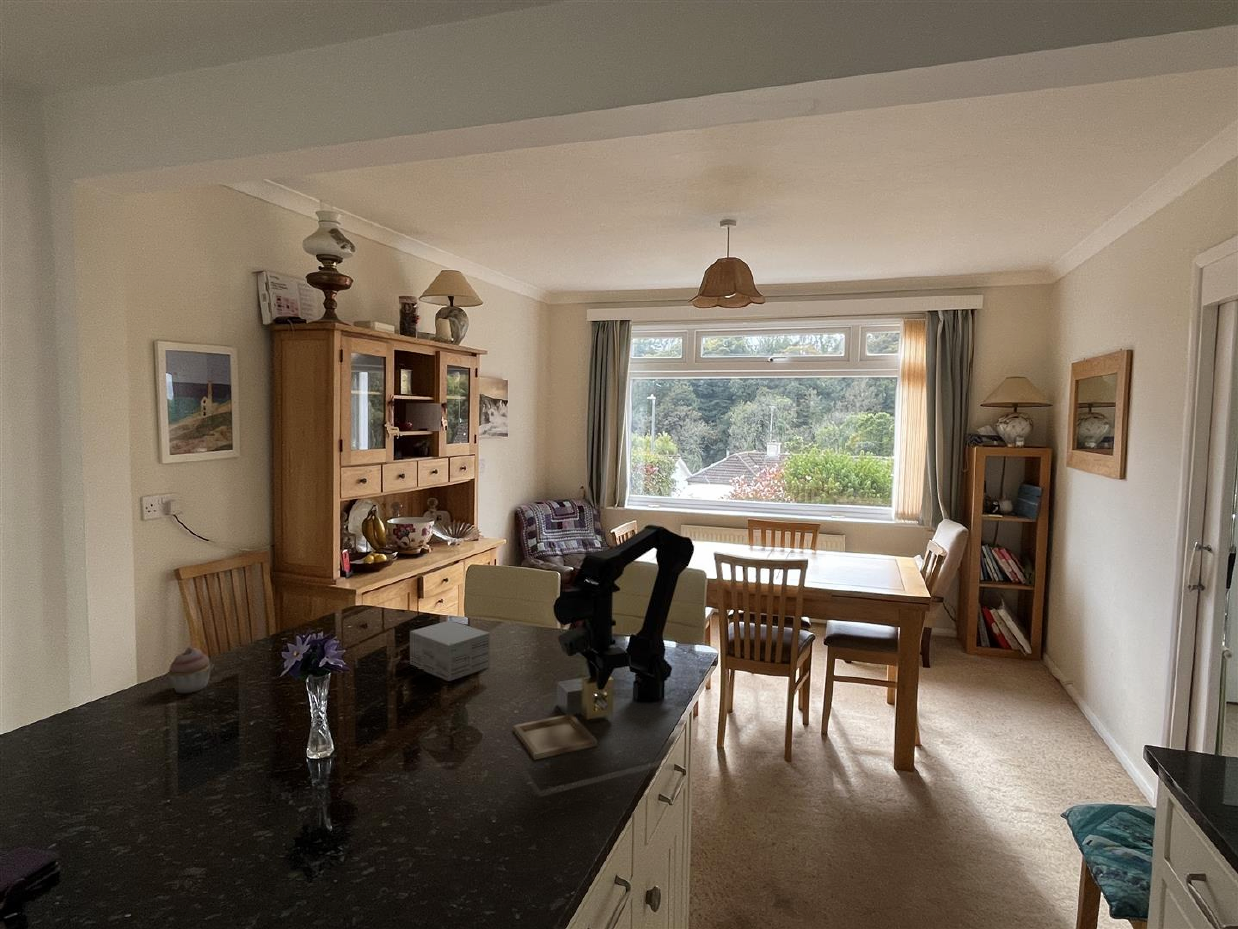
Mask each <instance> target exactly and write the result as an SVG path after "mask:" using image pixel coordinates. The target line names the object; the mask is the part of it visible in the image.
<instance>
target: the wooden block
mask: <svg viewBox="0 0 1238 929" xmlns="http://www.w3.org/2000/svg"><path fill="white" fill-rule="evenodd" d="M587 677H588V678H584V677H581V678H582V700H581V713H580V714H581V715H582V716H583V717H584V718H585V720H587V721H588V720H592V719H597V718H603V717H607V716H612V715H614V714H613V713H614V678H613V677H611V676H610V678H609V680H608V681H607V683H606V685H605V687H604V689H603V690H599V689H598V684H597V676H594V677H590V676H587ZM598 693H601V699H602V700H604V701H605V702H606V703H607V705H608V707H607V709H606V710H602V709H600V708H599V707H598V706H597V705H596V704H594V694H598Z"/></svg>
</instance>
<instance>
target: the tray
mask: <svg viewBox="0 0 1238 929" xmlns="http://www.w3.org/2000/svg"><path fill="white" fill-rule="evenodd" d="M512 729H513V731H514V733H515V735H516V736H517V738H518V739H519V740H520V742H521V744H523V745H524V748H526V750H527V751H528V753H529V754H530V755H531V757H532V758H533V759H534V761H536V760H540V759H543V758H549V757H554V756H559V755H563V754H566V753H571V752H576V751H581V750H584V749H588V748H593V747H598V739H597V738H596V737H595V736H594V735H593V734H592V733H591V732H590V731H589V730H588V729H587V728H586V726H584V724H583V723H581V722H580V720H579V719H578V718H577V717H576V716H575V715H573V714H568V715H566V714H564V715H559V716H553V717H548V718H543V719H538V720H533V721H528V722H524V723H518V724H514V725H513V726H512Z"/></svg>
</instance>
